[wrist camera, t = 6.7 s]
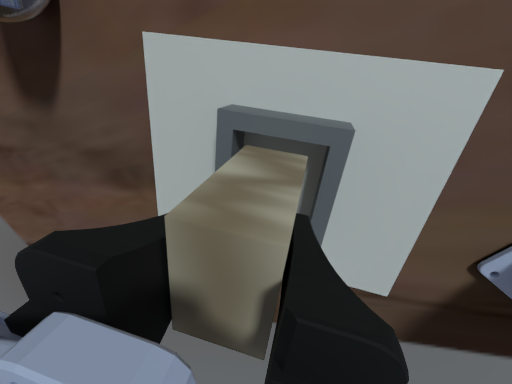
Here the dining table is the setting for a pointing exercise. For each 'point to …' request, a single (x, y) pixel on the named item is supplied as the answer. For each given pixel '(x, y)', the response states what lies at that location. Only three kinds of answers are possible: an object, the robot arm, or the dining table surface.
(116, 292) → the robot arm
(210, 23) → the dining table surface
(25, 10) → the tin
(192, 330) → the birch peg
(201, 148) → the peg socket
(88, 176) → the dining table surface
